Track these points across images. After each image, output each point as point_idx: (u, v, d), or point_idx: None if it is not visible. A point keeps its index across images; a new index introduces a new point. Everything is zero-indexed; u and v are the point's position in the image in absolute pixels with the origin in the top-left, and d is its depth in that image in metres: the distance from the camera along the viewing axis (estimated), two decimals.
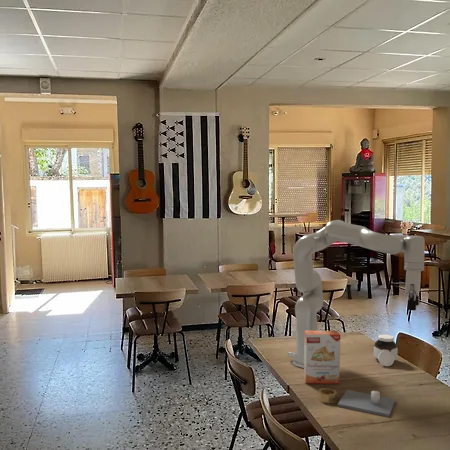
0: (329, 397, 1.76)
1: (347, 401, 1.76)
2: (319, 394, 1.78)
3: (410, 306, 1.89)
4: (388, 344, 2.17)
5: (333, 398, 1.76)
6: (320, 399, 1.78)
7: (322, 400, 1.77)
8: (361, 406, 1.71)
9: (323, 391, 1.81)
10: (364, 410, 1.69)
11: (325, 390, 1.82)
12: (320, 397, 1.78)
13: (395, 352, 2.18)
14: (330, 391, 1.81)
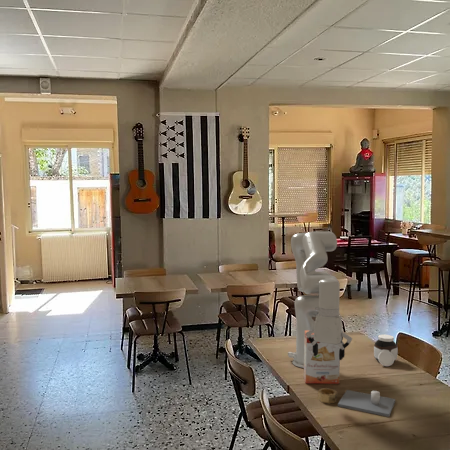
0: (329, 397, 1.76)
1: (347, 401, 1.76)
2: (319, 394, 1.78)
3: (343, 355, 1.75)
4: (388, 344, 2.17)
5: (333, 398, 1.76)
6: (320, 399, 1.78)
7: (322, 400, 1.77)
8: (361, 406, 1.71)
9: (323, 391, 1.81)
10: (364, 410, 1.69)
11: (325, 390, 1.82)
12: (320, 397, 1.78)
13: (395, 352, 2.18)
14: (330, 391, 1.81)
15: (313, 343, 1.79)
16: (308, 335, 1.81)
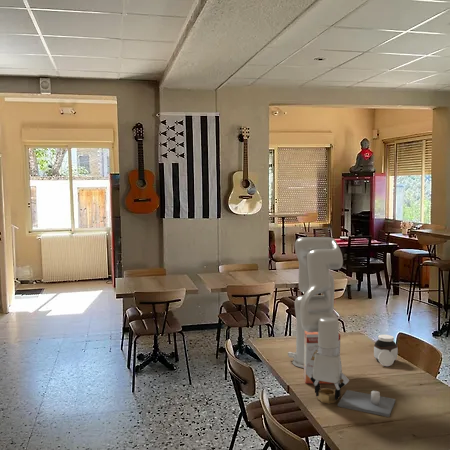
0: (329, 397, 1.76)
1: (347, 401, 1.76)
2: (319, 394, 1.78)
3: (339, 395, 1.77)
4: (388, 344, 2.17)
5: (333, 398, 1.76)
6: (320, 399, 1.78)
7: (322, 400, 1.77)
8: (361, 406, 1.71)
9: (323, 391, 1.81)
10: (364, 410, 1.69)
11: (325, 390, 1.82)
12: (320, 397, 1.78)
13: (395, 352, 2.18)
14: (330, 391, 1.81)
15: (315, 383, 1.80)
16: (310, 376, 1.81)
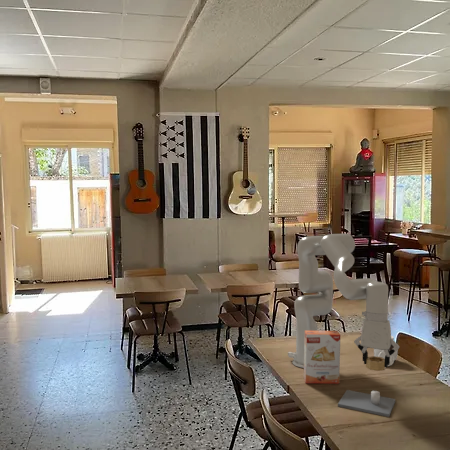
0: (379, 364, 1.70)
1: (347, 401, 1.76)
2: (367, 362, 1.72)
3: (389, 362, 1.71)
4: None
5: (383, 365, 1.70)
6: (369, 367, 1.71)
7: (371, 368, 1.71)
8: (361, 406, 1.71)
9: (371, 359, 1.75)
10: (364, 410, 1.69)
11: (373, 358, 1.75)
12: (369, 365, 1.71)
13: (395, 352, 2.18)
14: (378, 359, 1.75)
15: (363, 351, 1.74)
16: (357, 343, 1.75)
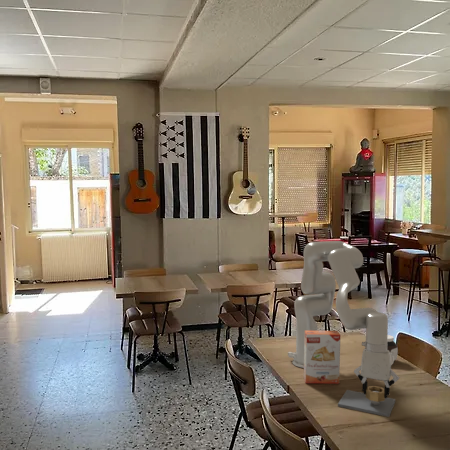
0: (378, 395, 1.70)
1: (347, 401, 1.76)
2: (367, 392, 1.73)
3: (388, 393, 1.71)
4: (388, 344, 2.17)
5: (382, 396, 1.71)
6: (368, 397, 1.72)
7: (371, 398, 1.71)
8: (361, 406, 1.71)
9: (371, 389, 1.76)
10: (364, 410, 1.69)
11: (373, 388, 1.76)
12: (368, 395, 1.72)
13: (395, 352, 2.18)
14: (378, 389, 1.75)
15: (363, 381, 1.74)
16: (357, 373, 1.76)
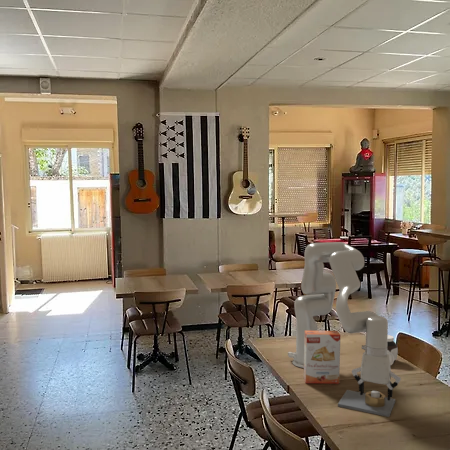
0: (378, 401, 1.70)
1: (347, 401, 1.76)
2: (367, 397, 1.73)
3: (391, 395, 1.71)
4: (388, 344, 2.17)
5: (382, 402, 1.71)
6: (368, 403, 1.72)
7: (370, 404, 1.72)
8: (361, 406, 1.71)
9: (370, 394, 1.76)
10: (364, 410, 1.69)
11: None
12: (368, 401, 1.72)
13: (395, 352, 2.18)
14: None
15: (359, 382, 1.75)
16: (354, 374, 1.76)
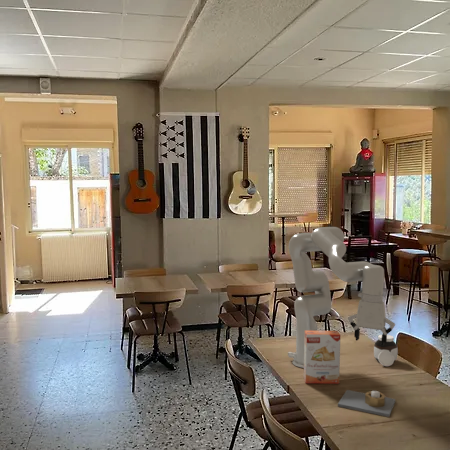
0: (378, 401, 1.70)
1: (347, 401, 1.76)
2: (367, 397, 1.73)
3: (386, 340, 1.78)
4: (388, 344, 2.17)
5: (382, 402, 1.71)
6: (368, 403, 1.72)
7: (370, 404, 1.72)
8: (361, 406, 1.71)
9: (370, 394, 1.76)
10: (364, 410, 1.69)
11: None
12: (368, 401, 1.72)
13: (395, 352, 2.18)
14: None
15: (355, 328, 1.82)
16: (350, 320, 1.83)
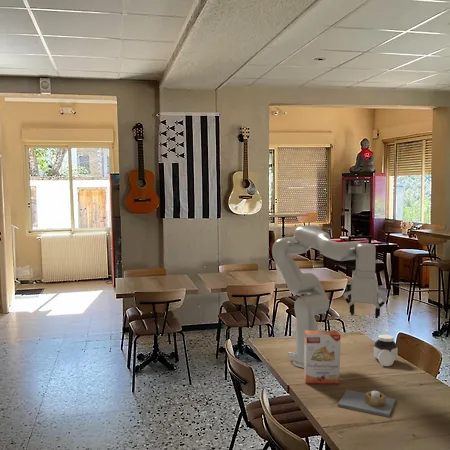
0: (378, 401, 1.70)
1: (347, 401, 1.76)
2: (367, 397, 1.73)
3: (379, 314, 1.89)
4: (388, 344, 2.17)
5: (382, 402, 1.71)
6: (368, 403, 1.72)
7: (370, 404, 1.72)
8: (361, 406, 1.71)
9: (370, 394, 1.76)
10: (364, 410, 1.69)
11: None
12: (368, 401, 1.72)
13: (395, 352, 2.18)
14: None
15: (350, 303, 1.93)
16: (345, 296, 1.95)
